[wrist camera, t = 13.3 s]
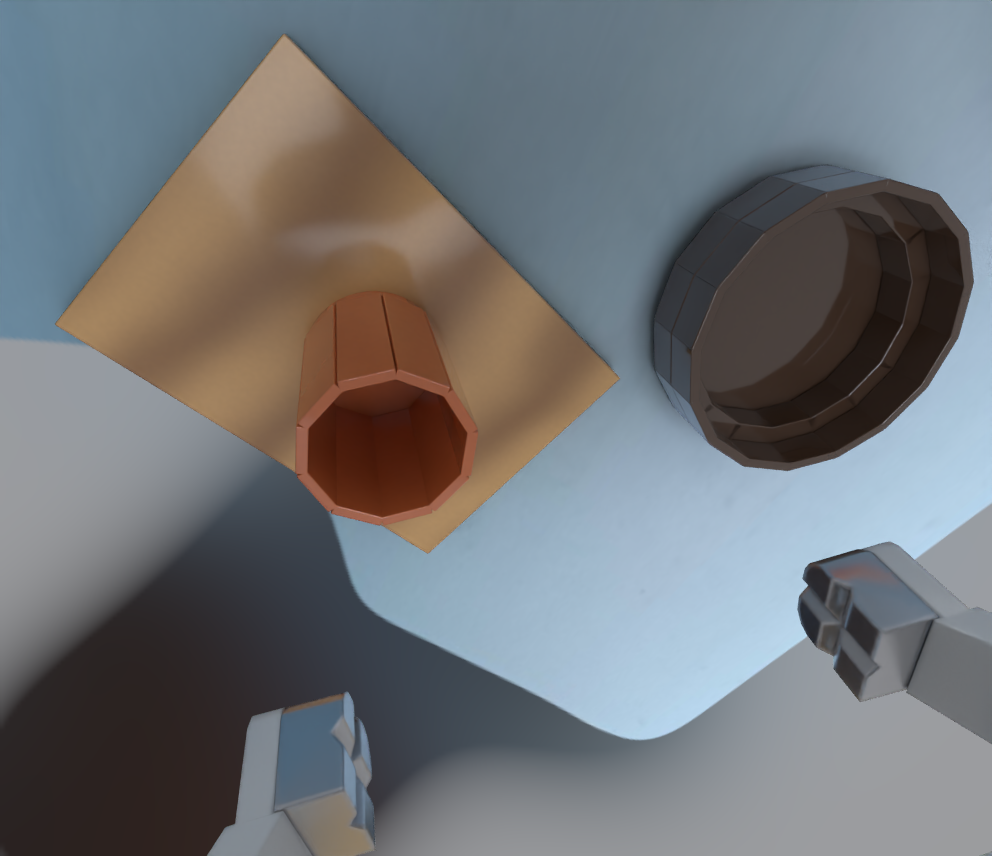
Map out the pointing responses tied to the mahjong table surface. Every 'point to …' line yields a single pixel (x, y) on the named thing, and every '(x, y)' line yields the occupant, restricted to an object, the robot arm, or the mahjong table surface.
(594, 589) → the mahjong table surface
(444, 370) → the terracotta cup
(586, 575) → the mahjong table surface
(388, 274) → the bamboo board
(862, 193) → the bowl
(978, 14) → the mahjong table surface
